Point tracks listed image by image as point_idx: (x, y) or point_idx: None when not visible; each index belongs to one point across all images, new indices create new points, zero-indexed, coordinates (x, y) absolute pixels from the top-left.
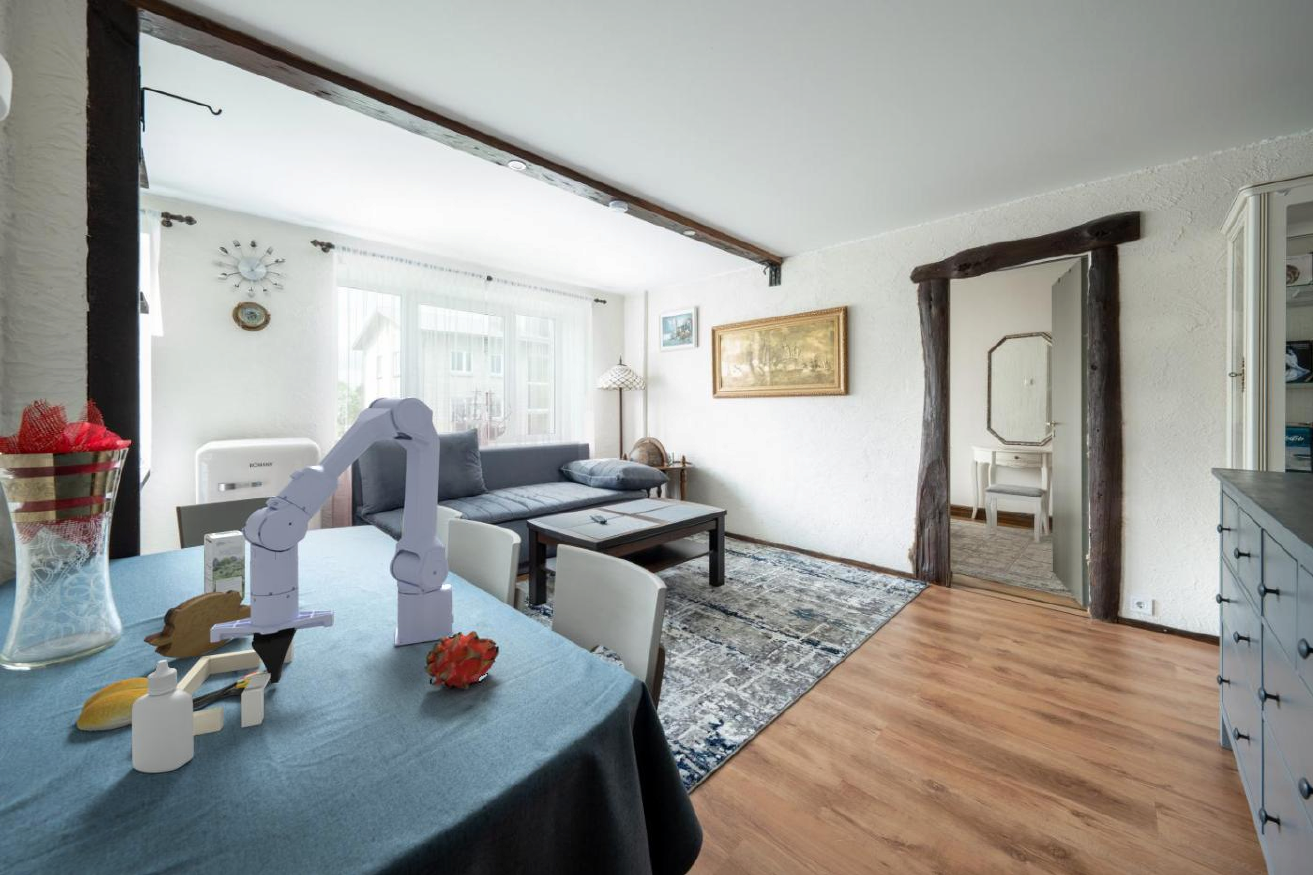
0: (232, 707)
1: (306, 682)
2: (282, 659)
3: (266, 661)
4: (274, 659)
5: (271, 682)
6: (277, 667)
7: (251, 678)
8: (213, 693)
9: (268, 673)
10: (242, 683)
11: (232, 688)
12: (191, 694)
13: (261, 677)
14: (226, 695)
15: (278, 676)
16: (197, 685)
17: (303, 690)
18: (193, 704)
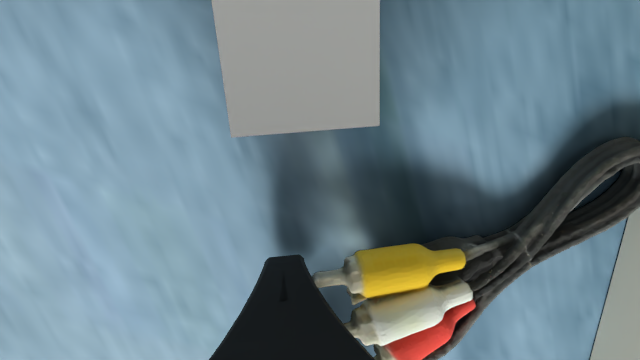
0: (436, 117)
1: (150, 278)
2: (212, 355)
3: (331, 341)
4: (271, 354)
5: (296, 257)
6: (257, 310)
7: (375, 68)
8: (552, 228)
9: (247, 134)
10: (441, 266)
11: (477, 247)
12: (621, 280)
13: (285, 57)
14: (486, 238)
15: (260, 277)
16: (611, 341)
17: (127, 196)
18: (621, 150)
